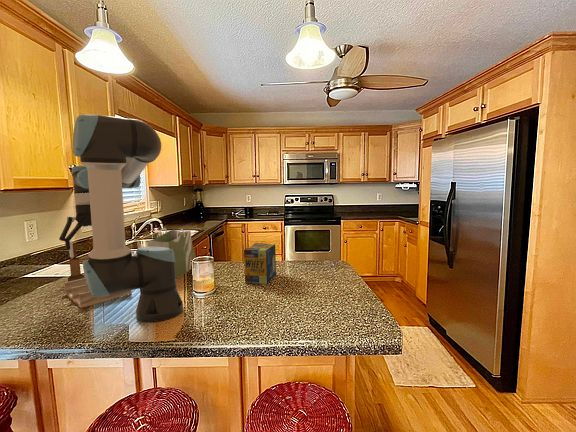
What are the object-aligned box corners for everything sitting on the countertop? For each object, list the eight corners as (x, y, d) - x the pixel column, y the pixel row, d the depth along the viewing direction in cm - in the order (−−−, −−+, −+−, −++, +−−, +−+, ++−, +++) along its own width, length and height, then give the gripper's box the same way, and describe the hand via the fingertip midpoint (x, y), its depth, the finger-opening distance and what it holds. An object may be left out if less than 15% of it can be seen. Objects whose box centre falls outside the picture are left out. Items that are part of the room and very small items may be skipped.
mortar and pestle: (82, 282, 144) (79, 245, 142) (66, 284, 141) (62, 246, 139) (86, 278, 150) (82, 242, 148) (70, 280, 147) (66, 243, 146)
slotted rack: (131, 294, 126) (130, 281, 126) (80, 307, 113) (79, 294, 112) (112, 283, 141) (111, 272, 140) (65, 294, 128) (64, 282, 127)
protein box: (244, 283, 136) (243, 249, 134) (256, 273, 151) (255, 242, 149) (267, 285, 133) (265, 250, 132) (276, 274, 148) (275, 243, 146)
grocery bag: (173, 282, 140) (170, 232, 138) (144, 282, 141) (140, 233, 139) (198, 264, 172) (196, 223, 169) (174, 264, 173) (172, 224, 170)
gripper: (115, 202, 138) (119, 248, 140) (46, 205, 120) (52, 258, 122) (121, 202, 133) (125, 249, 135) (50, 206, 115) (56, 261, 117)
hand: (91, 254), depth 128 cm, fingers open, 13 cm apart
